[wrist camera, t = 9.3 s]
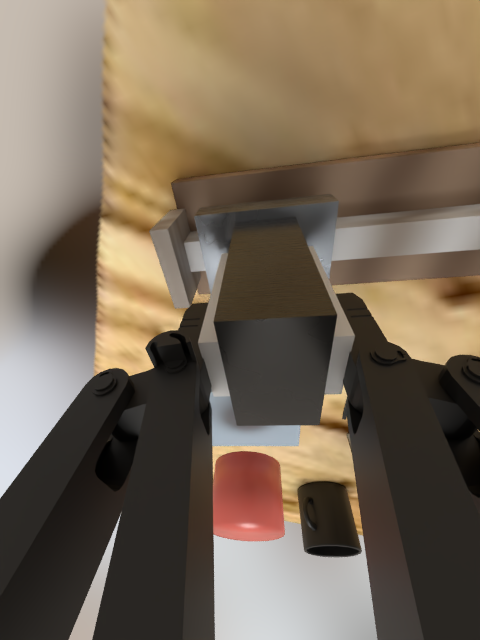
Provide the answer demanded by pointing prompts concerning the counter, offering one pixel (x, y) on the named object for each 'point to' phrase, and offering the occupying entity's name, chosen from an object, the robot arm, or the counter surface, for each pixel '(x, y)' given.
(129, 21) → the counter surface
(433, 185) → the rail
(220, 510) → the plunger
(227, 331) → the carriage
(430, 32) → the counter surface
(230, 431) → the pale blue block
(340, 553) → the mug
